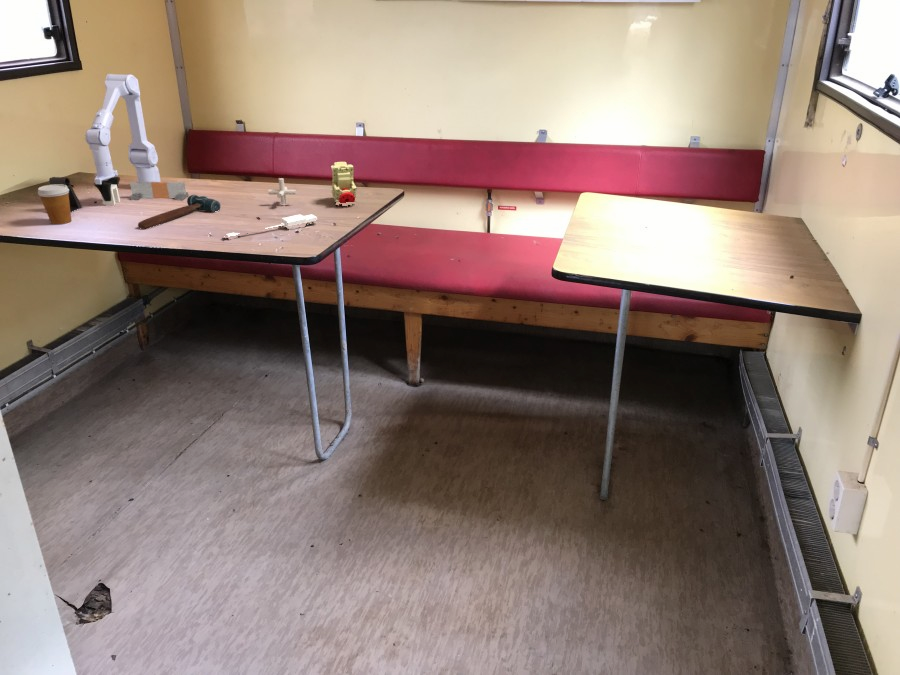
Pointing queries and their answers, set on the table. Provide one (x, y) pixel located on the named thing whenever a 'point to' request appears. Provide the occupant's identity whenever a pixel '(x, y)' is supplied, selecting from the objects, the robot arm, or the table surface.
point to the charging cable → (289, 221)
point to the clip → (113, 196)
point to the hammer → (182, 211)
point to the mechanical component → (343, 182)
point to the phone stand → (72, 196)
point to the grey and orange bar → (158, 190)
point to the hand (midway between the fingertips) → (111, 199)
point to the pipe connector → (282, 191)
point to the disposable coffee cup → (56, 202)
